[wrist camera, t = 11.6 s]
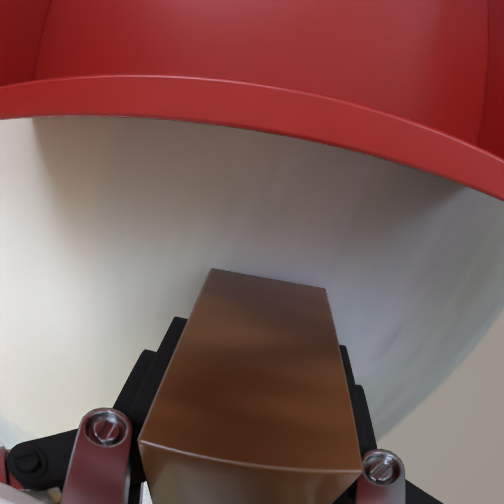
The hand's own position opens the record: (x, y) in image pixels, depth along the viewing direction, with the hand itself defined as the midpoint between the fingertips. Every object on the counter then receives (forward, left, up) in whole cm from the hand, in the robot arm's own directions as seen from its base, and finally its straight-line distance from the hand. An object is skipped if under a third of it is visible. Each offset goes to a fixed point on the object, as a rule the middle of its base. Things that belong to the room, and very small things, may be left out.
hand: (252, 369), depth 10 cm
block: (0, 0, -2) cm, 2 cm away
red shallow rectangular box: (+2, -14, -3) cm, 14 cm away
